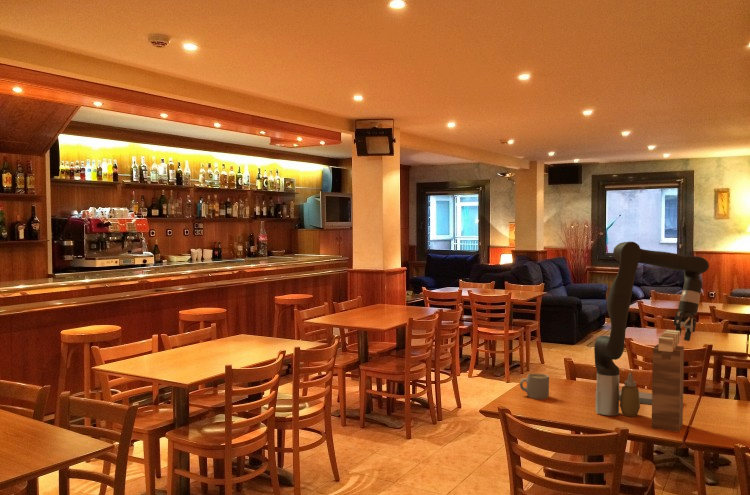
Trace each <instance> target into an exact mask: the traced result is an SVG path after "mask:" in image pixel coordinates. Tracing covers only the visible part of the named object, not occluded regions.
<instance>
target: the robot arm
mask: <svg viewBox="0 0 750 495" xmlns="http://www.w3.org/2000/svg"><path fill="white" fill-rule="evenodd" d="M612 252H613V257H614V258H615V260H616V261H618V262H619V266H618V271H617V274H616V277H615V278H614V280H613V282H612V284H611V286H610V287H609V292H608V296H607V301H606V309H607V312H608V317H609V321H610V331H609V332H610V334H609V336H608V335H600V336H598V337H597V338H596V340H595V342H594V351H593V352H594V366H595V368H596V388H595V412H596V414H597V415H602V416H618V415H619V414H620V413H619V412H620V400H619V391H620V368H619V367H618V365H617V364H616V363H615V362H614V360H615V361H616V360H619V359H620V358H621V357H622V356H623V354H624V351H625V344H626V331H627V330H626V329H627V323H628V315H629V310H630V305H631V300H632V294H633V289H634V282H635V276H636V273H637V269H638V265H639V264H643V265H644V264H645V265H651V266H655V267H659V268H664V269H668V270H669V269H670V270H674V271H683V279H684V280H683V282H684V283H683V287H682V291H681V295H680V298H679V304H678V309H677V311H676V312H675V315H674V319H673V320H674V321H673V325H674V327H675V330H676V331H680V336H681V334H682V329H683V327H684V328H685V332H684V338H683V340H684V341H686V342H690V340H691V336H692V333H695V332H696V325H697V318H694V315H695V316H696V315H697V314H698V310H699V305H700V300H701V292H702V288H703V282H702V280H701V279H700V274H704V273H706V272H707V271H708V270H709V268H710V263H709V261H708V260H707V259H706V258H704V257H702V256H697V255H685V254H684V255H682V254H679V253H674V252H668V251H660V250H659V251H658V250H649V249H643V248H641V246H640V245H639V244H638V243H637V242H635V241H624V242H619V243H618V244H616V245H615V247H614V248H613V251H612Z"/></svg>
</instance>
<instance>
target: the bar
mask: <svg viewBox="0 0 750 495" xmlns="http://www.w3.org/2000/svg"><path fill="white" fill-rule="evenodd" d="M680 341H681V335H680V331H676V329H675V330H674V329H673V330H672V329H666V330H665V331H664V332H663V333H662V334H661V335H660V336H659V337H658V344H659V351H668V352H673V351H674V349H675V348H676V347H677V346H679V344H680V343H681V342H680Z"/></svg>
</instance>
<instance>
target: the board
mask: <svg viewBox="0 0 750 495" xmlns="http://www.w3.org/2000/svg"><path fill="white" fill-rule="evenodd" d="M621 392H622V389H619V401H620V400H621ZM639 401H640V404H644V405H651V406H652V392H651V393H650V392H642V391H639Z"/></svg>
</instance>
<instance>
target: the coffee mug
mask: <svg viewBox="0 0 750 495" xmlns="http://www.w3.org/2000/svg"><path fill="white" fill-rule="evenodd" d="M524 382H526V387H524V385H523V383H524ZM519 387H520V389H521V390H522V391H524V392H525V393H526V396H527V398H529V397H530V399H533V400H546V398H547V399H549V398H548V397H549V396H550V376H549V375H548V374H545V373H540V372H539V373H537V372H536V373H535V372H534V373H533V372H532V373H528V374H527V377H524V378H521V380H520V381H519Z"/></svg>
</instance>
